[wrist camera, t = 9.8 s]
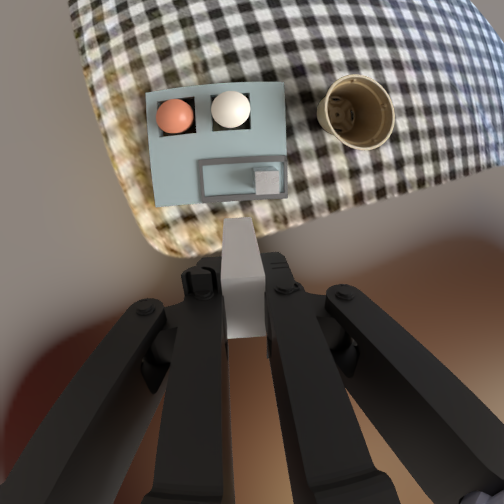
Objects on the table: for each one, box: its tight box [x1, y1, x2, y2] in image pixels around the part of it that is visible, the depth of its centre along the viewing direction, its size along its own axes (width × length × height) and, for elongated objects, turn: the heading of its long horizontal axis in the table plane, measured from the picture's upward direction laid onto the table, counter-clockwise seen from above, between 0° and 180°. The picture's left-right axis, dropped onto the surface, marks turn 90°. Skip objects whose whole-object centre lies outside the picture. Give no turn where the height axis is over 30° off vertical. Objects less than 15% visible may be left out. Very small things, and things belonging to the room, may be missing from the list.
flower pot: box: [317, 74, 395, 150], centre depth 31 cm, size 9×9×9 cm
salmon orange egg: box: [156, 99, 195, 133], centre depth 31 cm, size 4×4×4 cm
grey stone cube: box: [253, 167, 279, 195], centre depth 34 cm, size 3×3×4 cm
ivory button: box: [211, 91, 250, 128], centre depth 30 cm, size 4×4×4 cm
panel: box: [146, 82, 288, 207], centre depth 34 cm, size 16×18×3 cm
